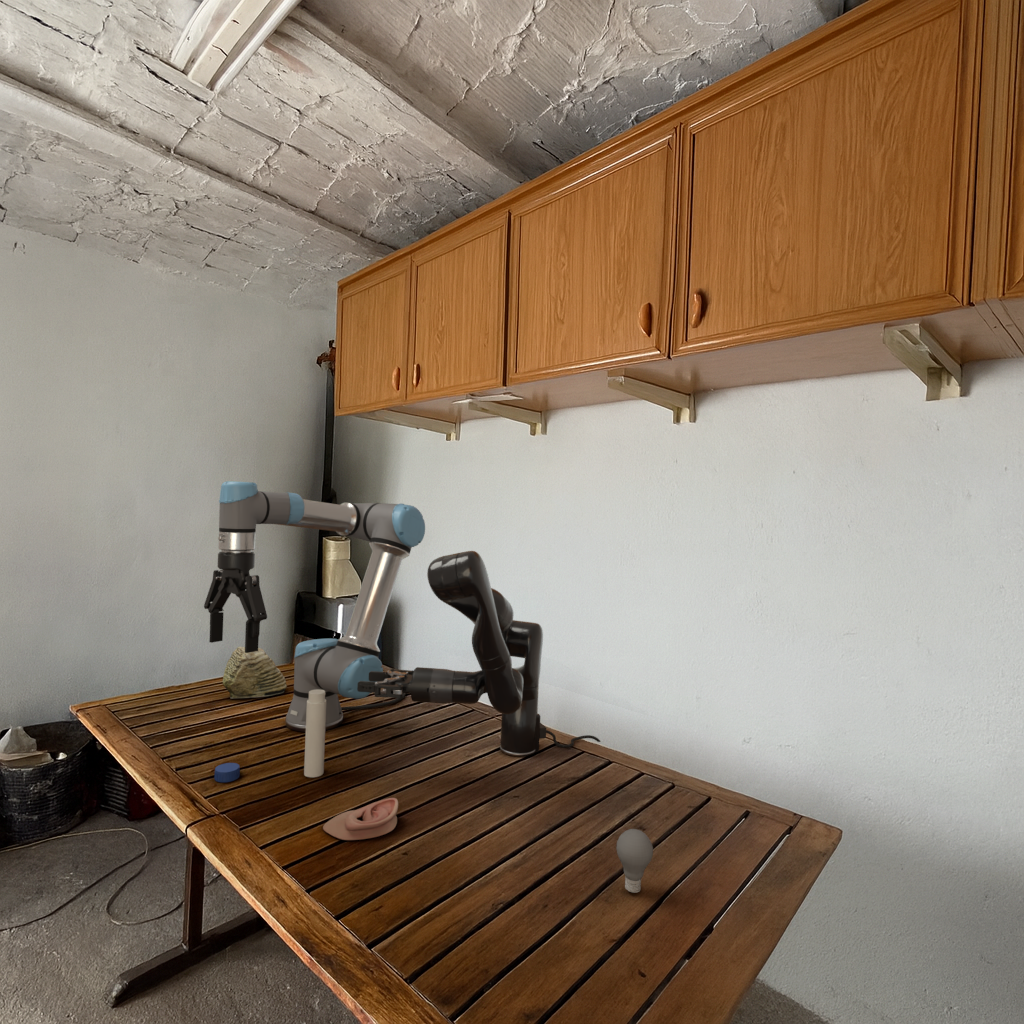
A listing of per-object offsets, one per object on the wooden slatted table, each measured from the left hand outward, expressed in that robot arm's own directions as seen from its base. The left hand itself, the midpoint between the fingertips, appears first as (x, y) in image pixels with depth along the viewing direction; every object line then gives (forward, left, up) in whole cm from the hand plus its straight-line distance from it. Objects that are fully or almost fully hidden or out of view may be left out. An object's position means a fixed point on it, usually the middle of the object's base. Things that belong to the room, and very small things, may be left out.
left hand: (233, 646), depth 141 cm
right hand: (-20, +21, -7) cm, 30 cm away
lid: (0, 0, -27) cm, 27 cm away
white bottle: (-14, +12, -29) cm, 34 cm away
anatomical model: (-7, +38, -29) cm, 49 cm away
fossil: (-34, -49, -29) cm, 66 cm away
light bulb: (-24, +87, -29) cm, 95 cm away
